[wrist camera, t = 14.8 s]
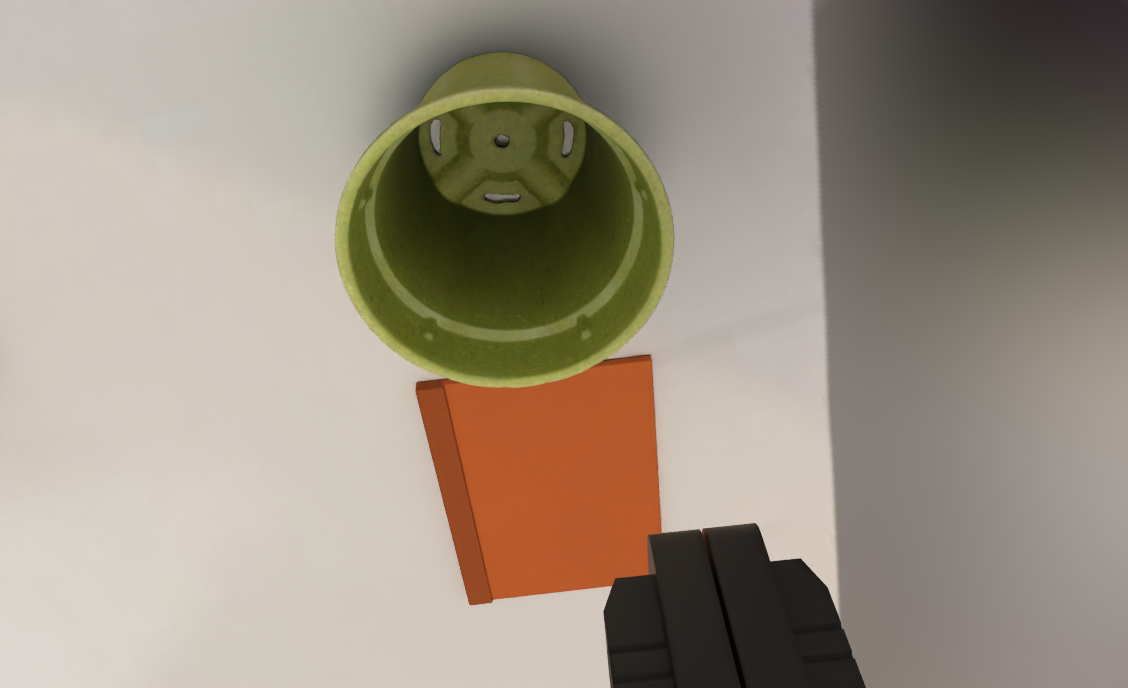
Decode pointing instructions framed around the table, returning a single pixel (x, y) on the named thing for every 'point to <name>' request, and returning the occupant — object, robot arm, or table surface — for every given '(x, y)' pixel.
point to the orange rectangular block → (547, 478)
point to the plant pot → (504, 230)
